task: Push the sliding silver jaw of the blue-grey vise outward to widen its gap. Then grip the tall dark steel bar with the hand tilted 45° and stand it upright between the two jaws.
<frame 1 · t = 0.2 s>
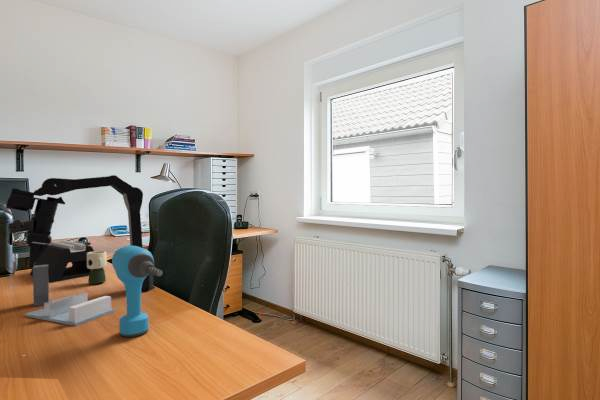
hand: (31, 261, 115), 15 cm above the table, tool pointing down, fingers open, 9 cm apart
character mug: (97, 283, 146), on the table
power drill: (140, 338, 91), on the table
vise base: (71, 313, 110), on the table
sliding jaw: (67, 303, 110), point 3 cm above the table, slide at 0.0 cm
device stand: (67, 275, 162), on the table
steel block: (41, 304, 119), on the table
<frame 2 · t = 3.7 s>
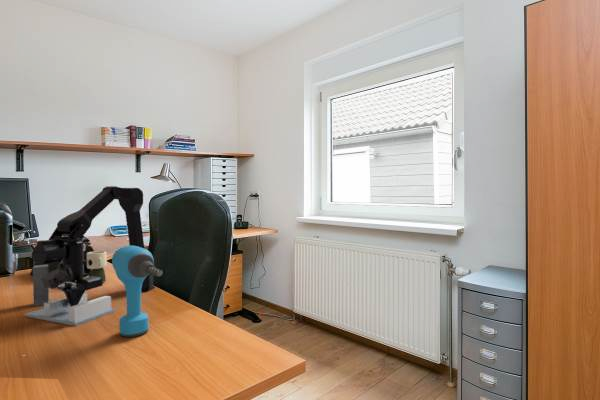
hand: (73, 308, 109), 2 cm above the table, tool pointing down, fingers closed
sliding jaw: (66, 303, 110), point 3 cm above the table, slide at 0.2 cm, touching gripper
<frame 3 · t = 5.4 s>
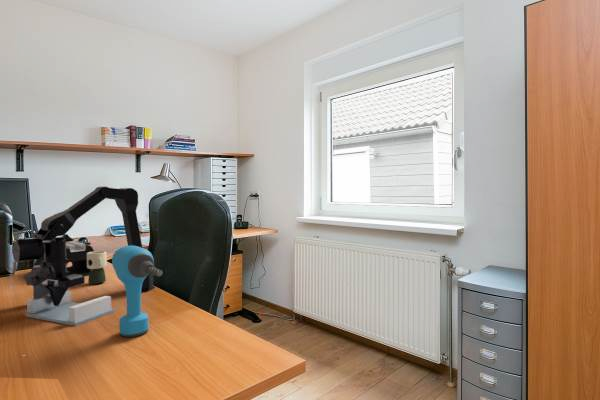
hand: (56, 305, 112), 2 cm above the table, tool pointing down, fingers closed
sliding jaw: (49, 301, 113), point 3 cm above the table, slide at 8.0 cm, touching gripper
everything else where it was.
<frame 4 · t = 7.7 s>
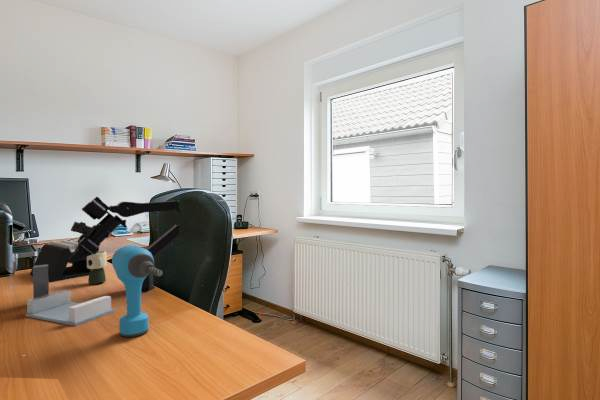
hand: (69, 261, 123), 14 cm above the table, tool tilted 45°, fingers open, 5 cm apart
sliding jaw: (49, 301, 113), point 3 cm above the table, slide at 8.0 cm
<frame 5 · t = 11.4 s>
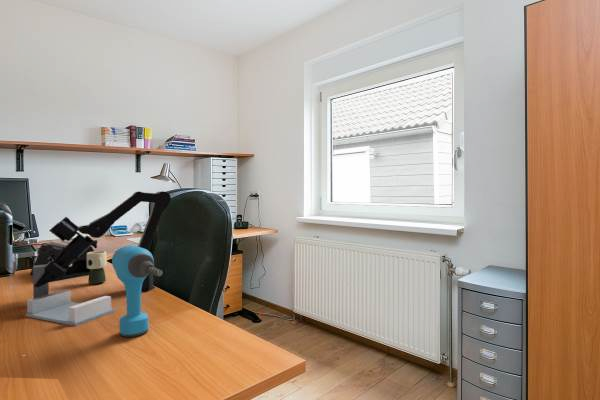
hand: (36, 285, 118), 7 cm above the table, tool tilted 45°, fingers closed on steel block, 4 cm apart
steel block: (41, 303, 119), on the table, touching gripper
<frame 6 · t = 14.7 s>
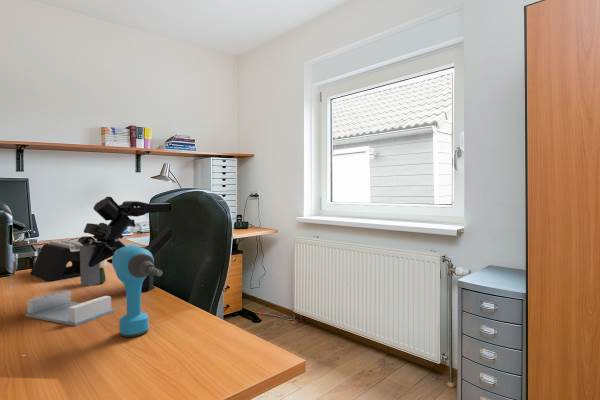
hand: (85, 265, 116), 14 cm above the table, tool tilted 45°, fingers closed on steel block, 4 cm apart
steel block: (90, 284, 118), point 7 cm above the table, touching gripper
when the fingers open (8 cm above the table, at t = 18.0 s): steel block drops 1 cm, resting on vise base.
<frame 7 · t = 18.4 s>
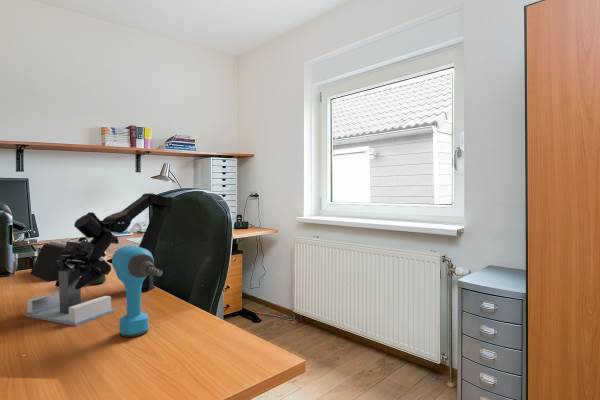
hand: (66, 287, 108), 9 cm above the table, tool tilted 45°, fingers open, 8 cm apart
steel block: (70, 311, 110), point 1 cm above the table, touching vise base
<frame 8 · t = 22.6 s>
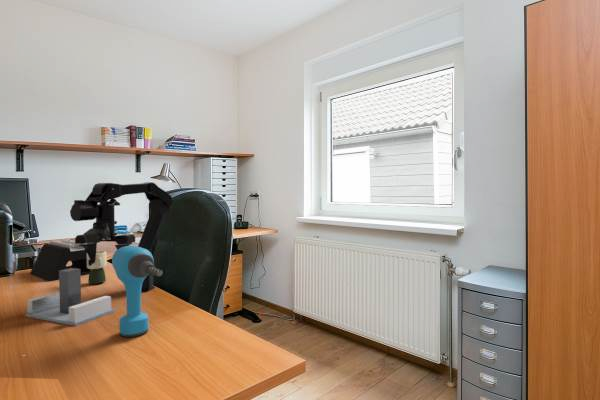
hand: (106, 263, 123), 13 cm above the table, tool pointing down, fingers open, 9 cm apart
at the end: steel block inside the target area on the vise base (0.1 cm from its centre), point 0.8 cm above the vise base's base; steel block tilted 0°; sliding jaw slide at 8.0 cm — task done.
